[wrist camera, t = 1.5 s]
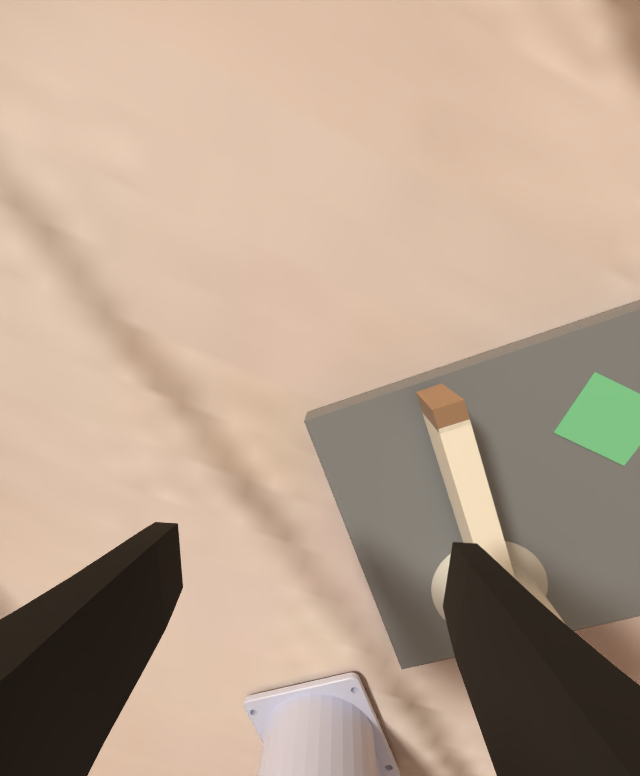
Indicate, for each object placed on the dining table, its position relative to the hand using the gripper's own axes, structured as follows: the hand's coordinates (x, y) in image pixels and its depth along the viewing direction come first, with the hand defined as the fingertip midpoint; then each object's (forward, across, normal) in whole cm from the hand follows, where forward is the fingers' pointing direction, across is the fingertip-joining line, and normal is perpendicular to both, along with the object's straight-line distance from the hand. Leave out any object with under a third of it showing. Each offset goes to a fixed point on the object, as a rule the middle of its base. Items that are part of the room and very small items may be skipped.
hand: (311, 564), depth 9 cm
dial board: (+10, -11, +3) cm, 15 cm away
